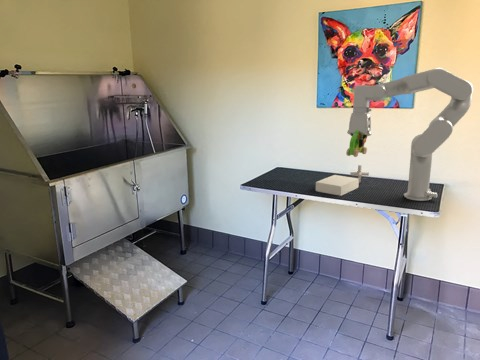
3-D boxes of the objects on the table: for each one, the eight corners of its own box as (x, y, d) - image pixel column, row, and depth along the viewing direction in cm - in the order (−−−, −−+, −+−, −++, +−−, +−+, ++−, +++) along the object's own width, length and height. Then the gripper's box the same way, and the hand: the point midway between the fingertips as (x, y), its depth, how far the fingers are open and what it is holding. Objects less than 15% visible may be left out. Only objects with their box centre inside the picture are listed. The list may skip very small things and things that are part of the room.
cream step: (358, 187, 219) (358, 178, 218) (340, 195, 205) (341, 186, 204) (334, 183, 229) (334, 174, 228) (315, 190, 215) (315, 182, 214)
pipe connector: (368, 184, 224) (369, 167, 221) (350, 184, 226) (351, 167, 223) (367, 180, 233) (368, 163, 231) (349, 180, 235) (350, 163, 233)
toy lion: (355, 157, 197) (358, 127, 193) (345, 156, 201) (347, 126, 197) (368, 153, 209) (371, 124, 205) (359, 151, 212) (361, 123, 208)
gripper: (379, 110, 197) (376, 147, 201) (349, 109, 207) (347, 144, 212) (373, 112, 191) (370, 149, 196) (342, 110, 201) (340, 146, 206)
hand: (358, 146), depth 204 cm, fingers closed on toy lion
